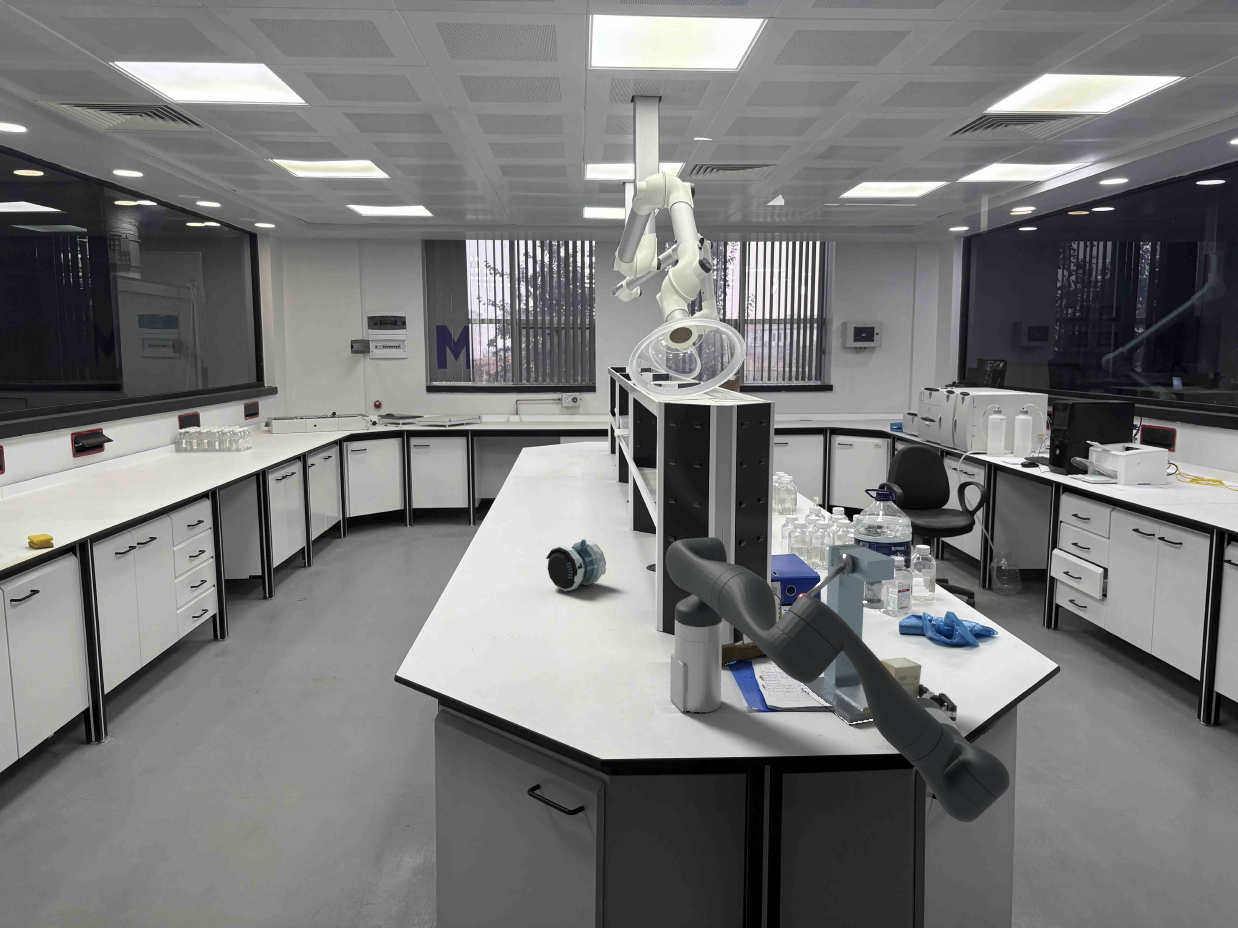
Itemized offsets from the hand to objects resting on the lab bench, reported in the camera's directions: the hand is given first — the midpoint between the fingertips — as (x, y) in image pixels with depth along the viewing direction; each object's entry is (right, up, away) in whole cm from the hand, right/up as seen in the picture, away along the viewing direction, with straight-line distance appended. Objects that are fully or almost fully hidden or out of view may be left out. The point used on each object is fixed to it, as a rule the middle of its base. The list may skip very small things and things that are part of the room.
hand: (897, 688), depth 146 cm
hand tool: (-22, -3, +34) cm, 40 cm away
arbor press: (-6, -6, +11) cm, 14 cm away
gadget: (-64, +5, +89) cm, 109 cm away
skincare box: (-1, -7, 0) cm, 7 cm away
